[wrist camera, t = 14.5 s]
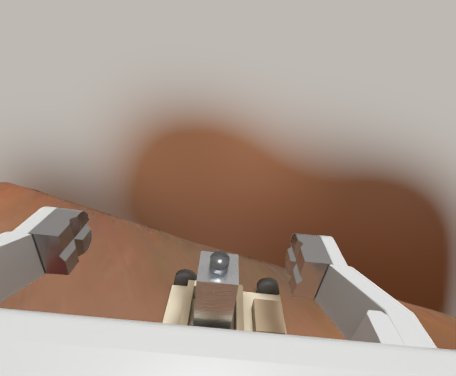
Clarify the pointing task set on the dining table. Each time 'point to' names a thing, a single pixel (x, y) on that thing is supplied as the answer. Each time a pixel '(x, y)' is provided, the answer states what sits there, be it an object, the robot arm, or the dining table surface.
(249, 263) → the dining table surface
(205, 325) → the silver tall block
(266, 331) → the chassis
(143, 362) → the robot arm
